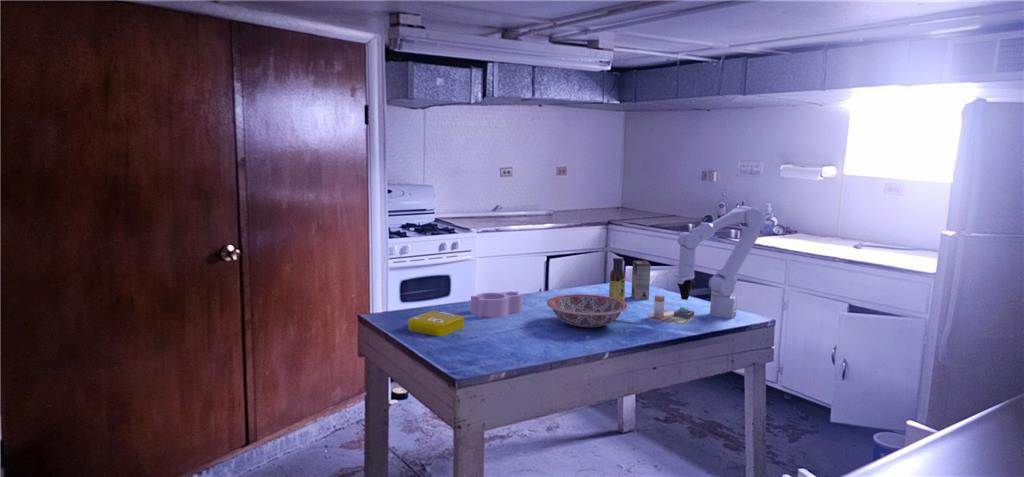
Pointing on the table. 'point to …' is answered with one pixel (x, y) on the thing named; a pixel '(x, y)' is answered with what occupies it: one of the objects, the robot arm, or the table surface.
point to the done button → (684, 310)
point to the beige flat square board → (671, 318)
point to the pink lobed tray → (496, 304)
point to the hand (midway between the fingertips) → (684, 299)
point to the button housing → (683, 314)
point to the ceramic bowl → (586, 309)
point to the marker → (659, 306)
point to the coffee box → (640, 280)
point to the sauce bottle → (617, 280)
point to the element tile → (436, 323)
